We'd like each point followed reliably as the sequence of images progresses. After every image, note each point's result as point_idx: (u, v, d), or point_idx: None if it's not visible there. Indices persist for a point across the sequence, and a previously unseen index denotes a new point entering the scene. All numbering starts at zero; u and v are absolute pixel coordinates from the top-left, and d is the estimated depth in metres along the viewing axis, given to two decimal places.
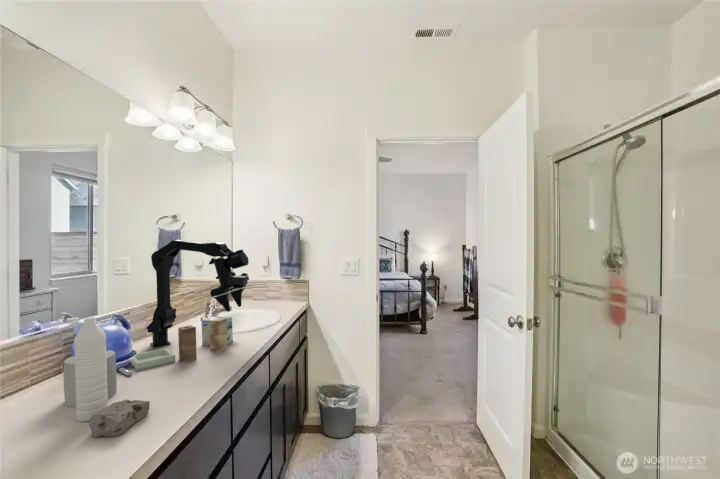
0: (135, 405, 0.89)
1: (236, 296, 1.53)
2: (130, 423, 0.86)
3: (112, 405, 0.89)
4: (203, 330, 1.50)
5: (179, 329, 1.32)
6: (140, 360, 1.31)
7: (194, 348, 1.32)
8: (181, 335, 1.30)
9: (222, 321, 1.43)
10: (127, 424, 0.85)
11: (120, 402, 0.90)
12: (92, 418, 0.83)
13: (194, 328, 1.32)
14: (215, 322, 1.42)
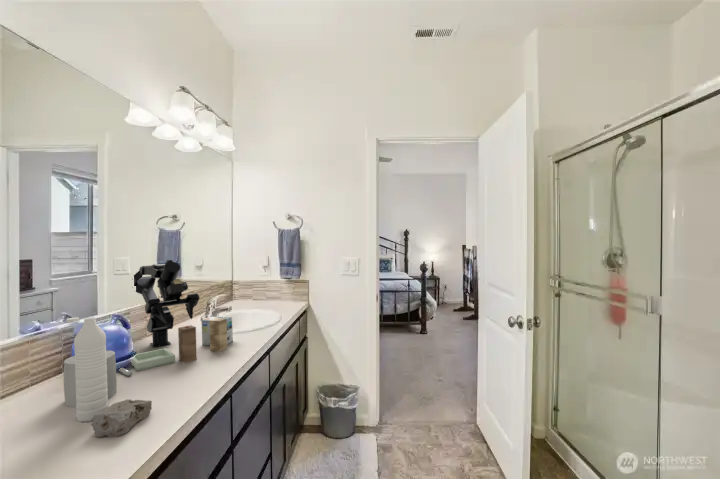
0: (137, 405, 0.89)
1: (188, 309, 1.44)
2: (133, 423, 0.86)
3: (114, 405, 0.89)
4: (203, 330, 1.50)
5: (179, 329, 1.32)
6: (140, 360, 1.31)
7: (194, 348, 1.32)
8: (181, 335, 1.30)
9: (222, 321, 1.43)
10: (130, 424, 0.85)
11: (122, 402, 0.90)
12: (95, 418, 0.83)
13: (194, 328, 1.32)
14: (215, 322, 1.42)
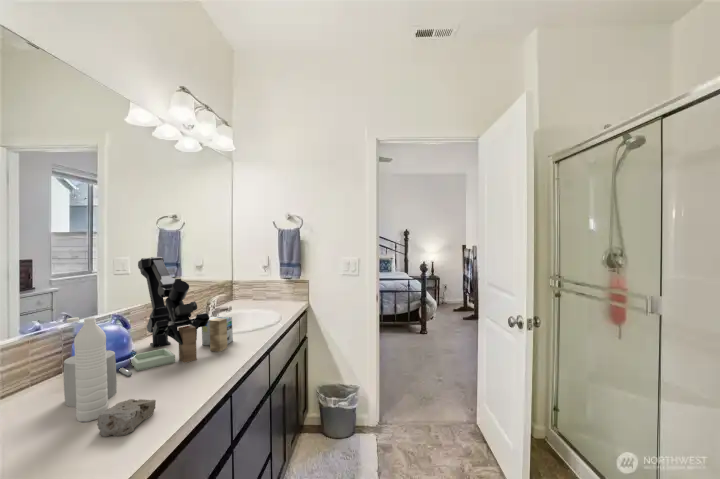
0: (142, 404, 0.90)
1: None
2: (138, 422, 0.86)
3: (118, 405, 0.89)
4: (203, 330, 1.50)
5: (179, 329, 1.32)
6: (140, 360, 1.31)
7: (194, 348, 1.32)
8: (181, 335, 1.30)
9: (222, 321, 1.43)
10: (135, 423, 0.85)
11: (126, 402, 0.91)
12: (100, 418, 0.83)
13: (194, 328, 1.32)
14: (215, 322, 1.42)
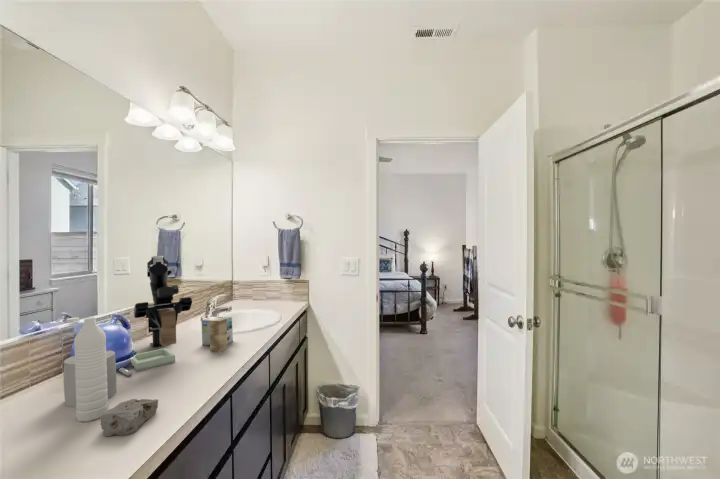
0: (144, 404, 0.90)
1: None
2: (141, 421, 0.86)
3: (121, 404, 0.89)
4: (203, 330, 1.50)
5: (159, 312, 1.30)
6: (140, 360, 1.31)
7: (174, 332, 1.31)
8: (161, 318, 1.29)
9: (222, 321, 1.43)
10: (138, 422, 0.85)
11: (128, 401, 0.91)
12: (103, 417, 0.83)
13: (174, 311, 1.31)
14: (215, 322, 1.42)
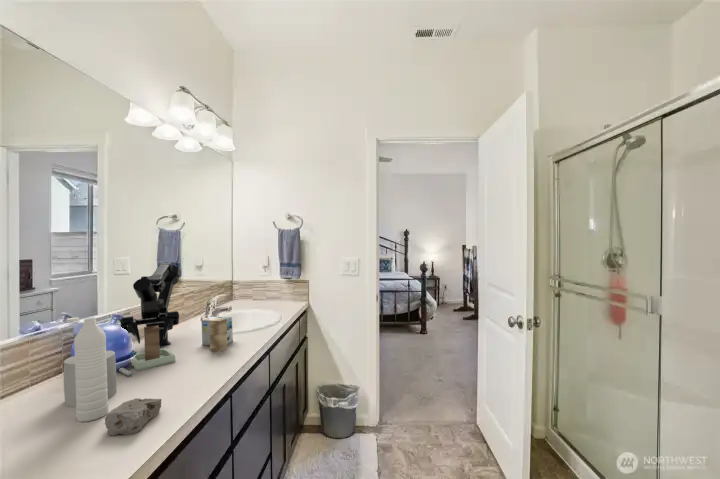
0: (148, 403, 0.90)
1: None
2: (145, 421, 0.87)
3: (124, 404, 0.89)
4: (203, 330, 1.50)
5: (144, 329, 1.31)
6: (140, 360, 1.31)
7: (157, 349, 1.30)
8: (144, 335, 1.29)
9: (222, 321, 1.43)
10: (143, 422, 0.86)
11: (132, 401, 0.91)
12: (107, 417, 0.83)
13: (157, 329, 1.30)
14: (215, 322, 1.42)
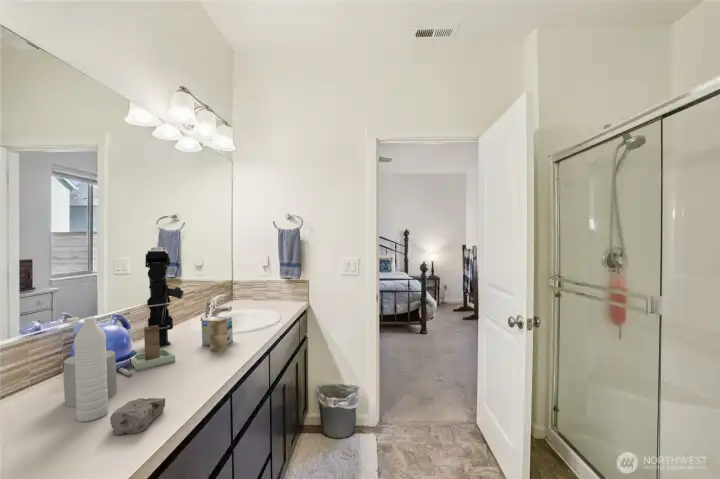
0: (152, 402, 0.91)
1: None
2: (150, 420, 0.87)
3: (128, 404, 0.89)
4: (203, 330, 1.50)
5: (144, 329, 1.31)
6: (140, 360, 1.31)
7: (157, 349, 1.30)
8: (144, 335, 1.29)
9: (222, 321, 1.43)
10: (148, 421, 0.86)
11: (136, 400, 0.91)
12: (113, 416, 0.83)
13: (157, 329, 1.30)
14: (215, 322, 1.42)
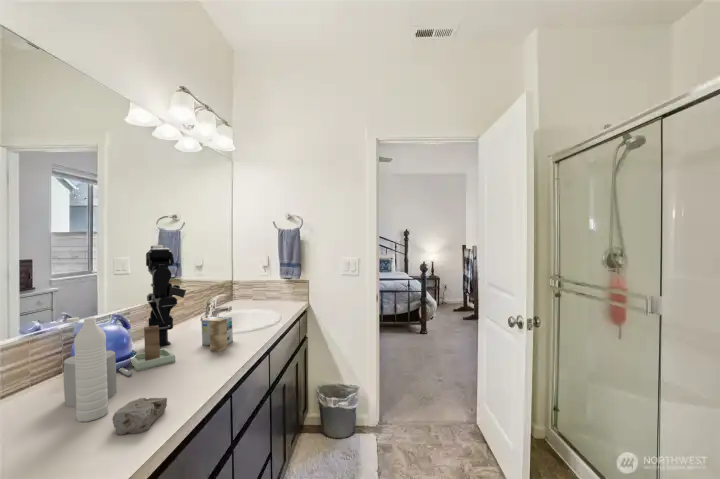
0: (154, 402, 0.91)
1: (156, 308, 1.42)
2: (152, 419, 0.87)
3: (130, 403, 0.90)
4: (203, 330, 1.50)
5: (144, 329, 1.31)
6: (140, 360, 1.31)
7: (157, 349, 1.30)
8: (144, 335, 1.29)
9: (222, 321, 1.43)
10: (150, 420, 0.86)
11: (137, 400, 0.91)
12: (115, 416, 0.83)
13: (157, 329, 1.30)
14: (215, 322, 1.42)
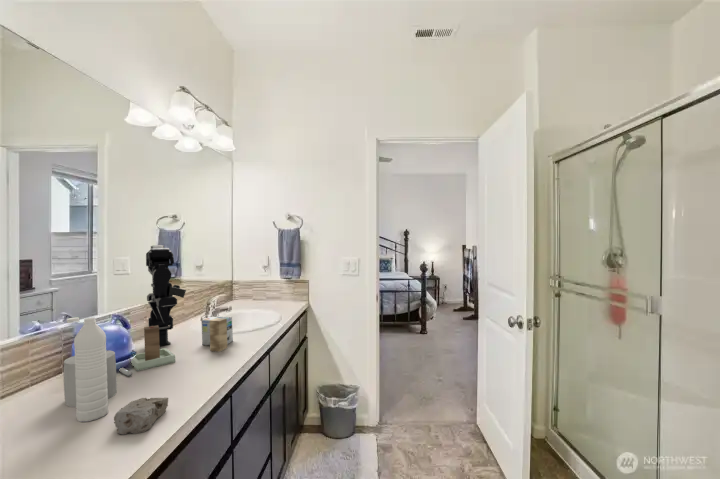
0: (155, 402, 0.91)
1: (156, 308, 1.42)
2: (154, 419, 0.87)
3: (131, 403, 0.90)
4: (203, 330, 1.50)
5: (144, 329, 1.31)
6: (140, 360, 1.31)
7: (157, 349, 1.30)
8: (144, 335, 1.29)
9: (222, 321, 1.43)
10: (151, 420, 0.86)
11: (138, 400, 0.91)
12: (117, 416, 0.83)
13: (157, 329, 1.30)
14: (215, 322, 1.42)
